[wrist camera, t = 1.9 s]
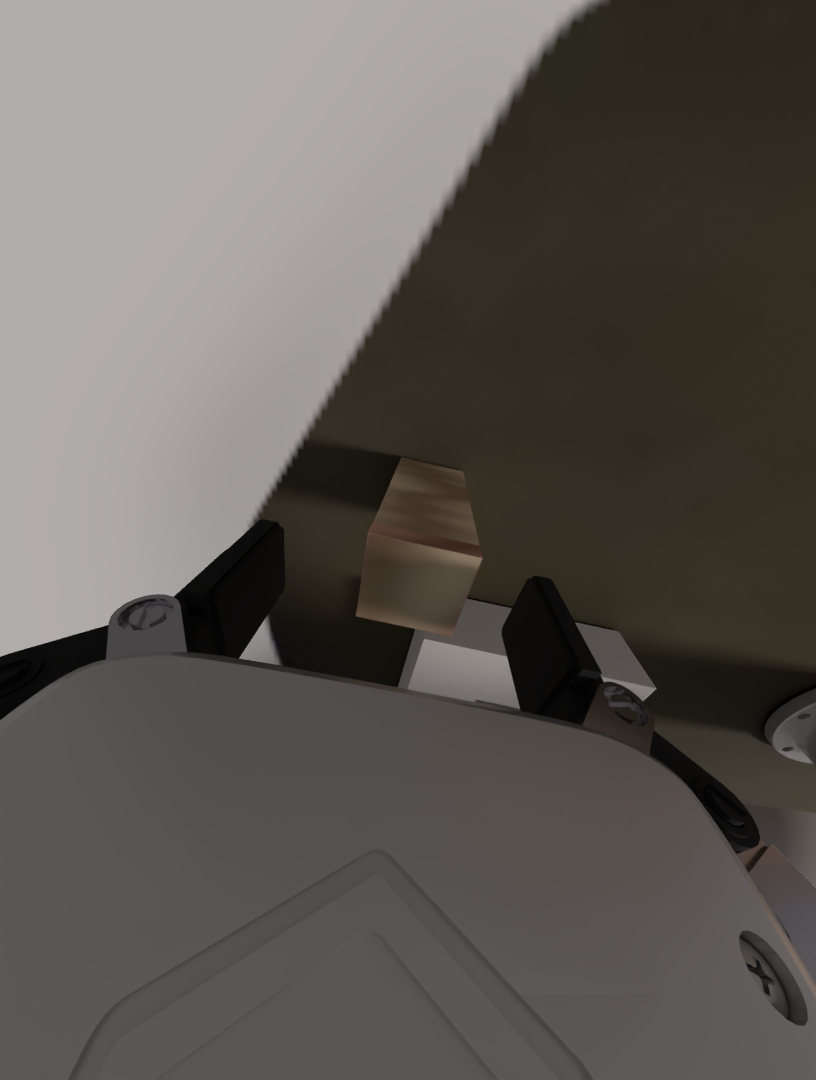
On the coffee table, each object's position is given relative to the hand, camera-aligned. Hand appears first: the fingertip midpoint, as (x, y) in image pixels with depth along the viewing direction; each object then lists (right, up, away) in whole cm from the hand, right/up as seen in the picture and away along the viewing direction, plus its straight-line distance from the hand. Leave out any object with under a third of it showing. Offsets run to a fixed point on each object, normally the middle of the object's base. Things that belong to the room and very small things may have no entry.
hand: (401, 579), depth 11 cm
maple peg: (+1, +5, +8) cm, 10 cm away
